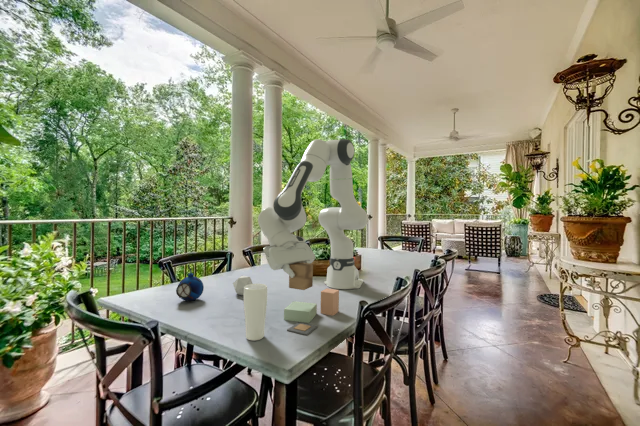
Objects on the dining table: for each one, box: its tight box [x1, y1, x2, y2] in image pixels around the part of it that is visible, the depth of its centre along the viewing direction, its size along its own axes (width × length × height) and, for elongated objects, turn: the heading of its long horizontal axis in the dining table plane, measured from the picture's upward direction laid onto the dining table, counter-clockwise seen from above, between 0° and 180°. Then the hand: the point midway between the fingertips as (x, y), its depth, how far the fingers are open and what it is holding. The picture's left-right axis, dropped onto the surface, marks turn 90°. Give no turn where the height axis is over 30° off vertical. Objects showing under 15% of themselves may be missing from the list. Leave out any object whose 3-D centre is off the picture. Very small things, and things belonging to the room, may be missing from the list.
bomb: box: [175, 264, 204, 302], centre depth 119 cm, size 10×11×15 cm
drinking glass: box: [243, 283, 268, 342], centre depth 86 cm, size 7×7×15 cm
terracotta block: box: [320, 287, 340, 316], centre depth 108 cm, size 5×5×8 cm
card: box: [286, 322, 318, 336], centre depth 93 cm, size 7×7×1 cm
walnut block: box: [288, 262, 314, 291], centre depth 103 cm, size 6×6×8 cm
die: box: [232, 275, 254, 297], centre depth 130 cm, size 8×9×10 cm
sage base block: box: [283, 300, 318, 324], centre depth 103 cm, size 9×9×4 cm
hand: (302, 274), depth 103 cm, fingers closed on walnut block, 7 cm apart
